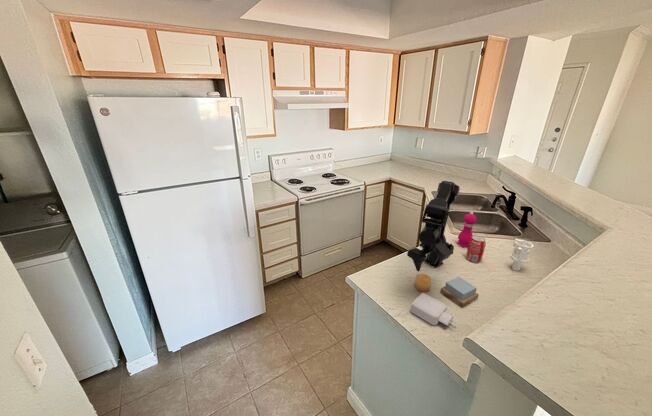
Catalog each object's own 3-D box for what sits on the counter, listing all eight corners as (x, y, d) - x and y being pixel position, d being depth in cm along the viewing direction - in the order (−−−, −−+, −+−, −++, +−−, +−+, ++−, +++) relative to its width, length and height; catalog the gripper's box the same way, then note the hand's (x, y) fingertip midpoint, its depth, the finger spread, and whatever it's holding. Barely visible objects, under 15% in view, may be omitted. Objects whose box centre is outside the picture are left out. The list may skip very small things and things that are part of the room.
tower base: (439, 294, 110) (441, 288, 109) (454, 286, 115) (456, 280, 114) (461, 309, 102) (463, 303, 101) (477, 300, 107) (478, 294, 106)
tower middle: (444, 288, 109) (446, 282, 108) (457, 282, 112) (458, 276, 111) (462, 300, 102) (463, 294, 101) (475, 293, 106) (476, 287, 105)
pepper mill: (458, 240, 151) (465, 208, 143) (472, 244, 147) (480, 211, 140) (455, 245, 146) (462, 212, 138) (469, 249, 142) (478, 215, 134)
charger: (449, 337, 90) (409, 312, 100) (460, 322, 96) (421, 301, 106) (452, 326, 88) (411, 302, 98) (463, 312, 94) (423, 291, 104)
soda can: (476, 255, 137) (481, 234, 132) (483, 263, 130) (490, 241, 126) (462, 255, 137) (467, 234, 132) (469, 263, 130) (475, 241, 125)
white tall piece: (507, 262, 131) (515, 235, 125) (524, 267, 127) (534, 240, 121) (506, 269, 126) (515, 241, 120) (524, 275, 122) (534, 246, 116)
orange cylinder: (411, 286, 114) (413, 276, 112) (421, 281, 117) (422, 272, 115) (422, 294, 109) (424, 284, 107) (432, 289, 112) (434, 279, 110)
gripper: (433, 250, 92) (426, 286, 98) (465, 237, 101) (457, 271, 107) (408, 236, 101) (403, 270, 107) (440, 225, 110) (434, 257, 116)
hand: (425, 267), depth 109 cm, fingers open, 9 cm apart
